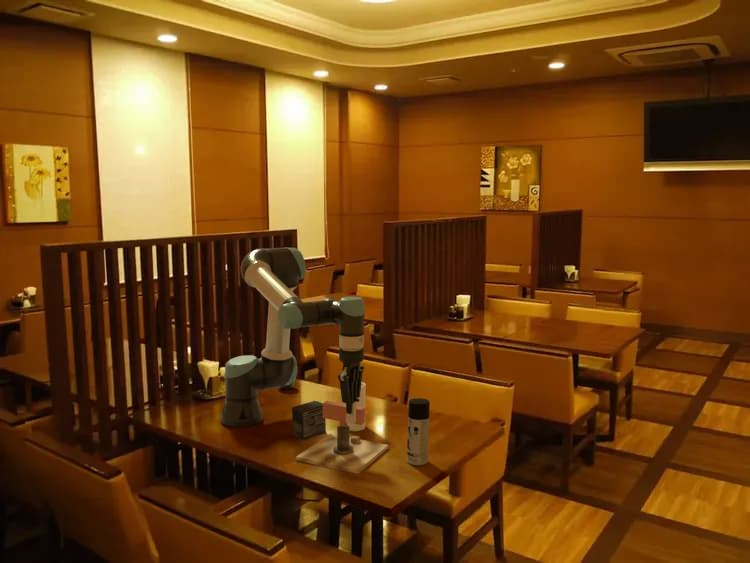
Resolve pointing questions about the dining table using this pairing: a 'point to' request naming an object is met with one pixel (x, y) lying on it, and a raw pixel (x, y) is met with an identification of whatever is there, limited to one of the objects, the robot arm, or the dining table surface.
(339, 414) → the pink rectangular block
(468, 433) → the dining table surface
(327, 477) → the dining table surface
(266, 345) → the robot arm
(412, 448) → the spray can
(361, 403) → the cup
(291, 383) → the sphere
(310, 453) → the post board
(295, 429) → the small box
